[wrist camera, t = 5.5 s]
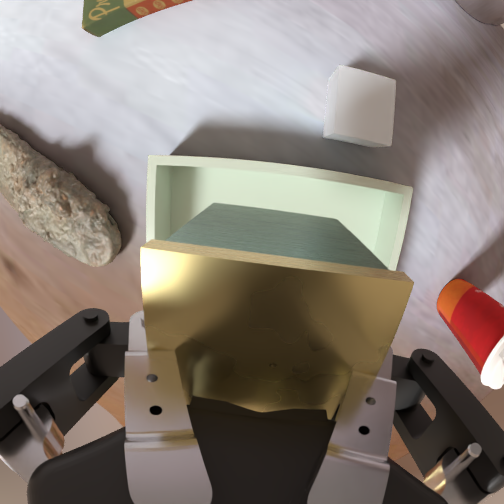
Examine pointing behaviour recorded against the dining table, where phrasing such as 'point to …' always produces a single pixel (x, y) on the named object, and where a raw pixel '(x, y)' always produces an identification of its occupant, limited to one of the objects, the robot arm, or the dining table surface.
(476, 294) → the paper cup
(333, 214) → the tote
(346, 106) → the white block
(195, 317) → the tea tin
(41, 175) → the long grey stone
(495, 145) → the dining table surface
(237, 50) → the dining table surface
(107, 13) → the carton
